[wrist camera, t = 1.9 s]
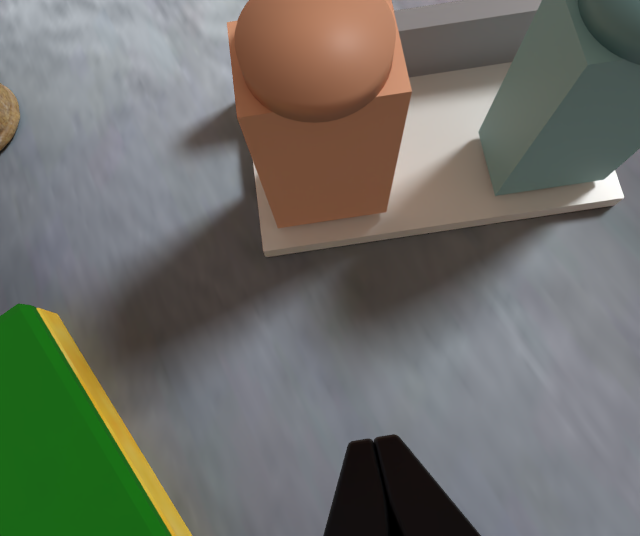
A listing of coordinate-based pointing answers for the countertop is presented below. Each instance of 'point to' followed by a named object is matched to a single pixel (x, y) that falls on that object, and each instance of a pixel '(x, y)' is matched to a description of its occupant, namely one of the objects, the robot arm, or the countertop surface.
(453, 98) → the button console
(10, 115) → the sprinkles bottle
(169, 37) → the countertop surface
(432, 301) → the countertop surface
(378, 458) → the robot arm
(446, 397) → the countertop surface
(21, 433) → the dish sponge
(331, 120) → the orange domed block
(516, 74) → the button teal
